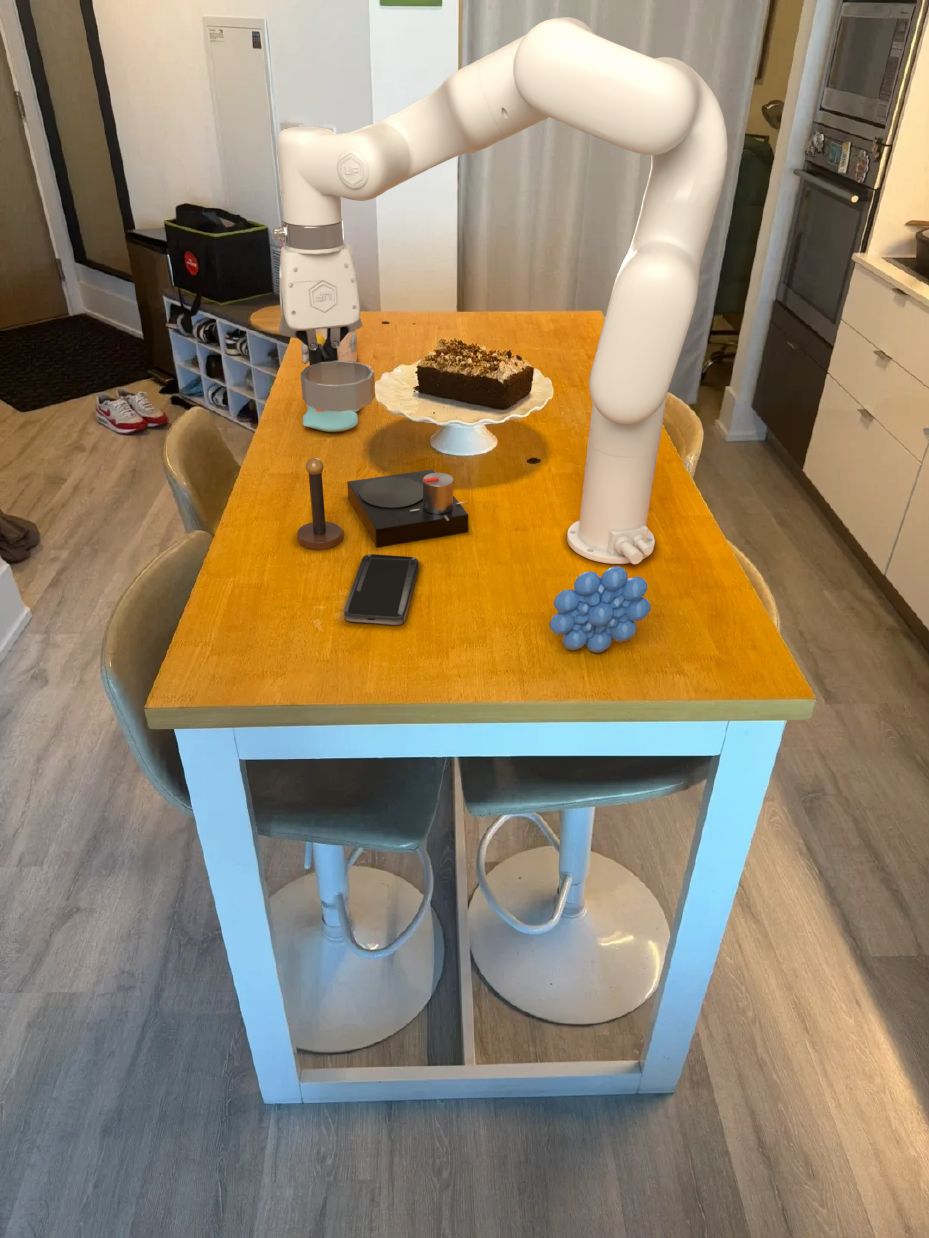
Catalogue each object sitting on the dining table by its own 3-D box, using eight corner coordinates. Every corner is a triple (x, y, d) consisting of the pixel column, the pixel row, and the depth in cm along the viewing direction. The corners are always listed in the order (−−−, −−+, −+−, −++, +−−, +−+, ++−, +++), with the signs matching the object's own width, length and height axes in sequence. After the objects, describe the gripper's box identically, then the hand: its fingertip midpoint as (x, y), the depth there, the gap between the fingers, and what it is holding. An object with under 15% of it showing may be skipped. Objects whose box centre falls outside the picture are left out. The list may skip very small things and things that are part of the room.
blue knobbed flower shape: (638, 632, 113) (651, 549, 107) (646, 665, 108) (660, 579, 101) (545, 629, 113) (552, 546, 107) (548, 662, 108) (556, 576, 101)
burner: (434, 502, 134) (434, 501, 134) (369, 512, 131) (369, 511, 131) (413, 474, 142) (413, 473, 142) (351, 483, 139) (351, 482, 139)
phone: (419, 557, 125) (403, 618, 112) (419, 564, 125) (403, 626, 113) (363, 553, 125) (341, 614, 113) (363, 560, 126) (341, 621, 114)
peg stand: (347, 546, 129) (342, 465, 122) (303, 553, 127) (295, 471, 120) (336, 525, 134) (331, 446, 127) (293, 532, 132) (285, 452, 125)
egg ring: (382, 406, 120) (381, 376, 118) (313, 415, 117) (310, 385, 115) (350, 367, 132) (349, 340, 129) (287, 375, 129) (284, 347, 126)
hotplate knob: (446, 498, 136) (447, 469, 133) (457, 511, 132) (457, 481, 129) (419, 502, 134) (418, 473, 131) (428, 516, 131) (428, 486, 128)
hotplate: (475, 534, 133) (475, 515, 131) (378, 550, 128) (377, 531, 127) (437, 485, 146) (437, 467, 144) (348, 498, 141) (347, 480, 140)
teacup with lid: (317, 353, 197) (313, 298, 190) (359, 354, 197) (357, 299, 191) (311, 372, 187) (307, 315, 181) (355, 373, 188) (352, 316, 181)
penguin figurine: (356, 437, 161) (352, 353, 152) (296, 436, 160) (288, 351, 152) (365, 396, 177) (362, 317, 169) (310, 395, 177) (304, 316, 168)
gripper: (260, 246, 112) (275, 390, 122) (379, 238, 117) (384, 377, 127) (249, 233, 117) (264, 372, 128) (363, 226, 122) (369, 360, 133)
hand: (324, 374), depth 127 cm, fingers closed on egg ring, 1 cm apart
